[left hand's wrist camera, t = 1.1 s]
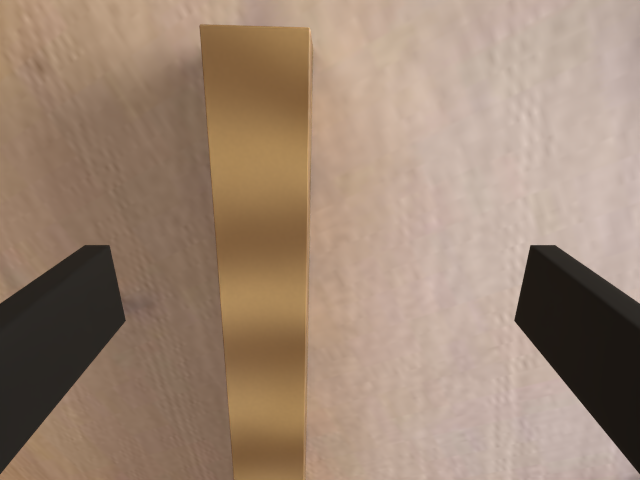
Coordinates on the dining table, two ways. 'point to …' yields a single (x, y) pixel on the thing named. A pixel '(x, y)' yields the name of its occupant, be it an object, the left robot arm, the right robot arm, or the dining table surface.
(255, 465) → the bar
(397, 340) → the dining table surface
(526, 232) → the dining table surface
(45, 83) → the dining table surface
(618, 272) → the dining table surface
